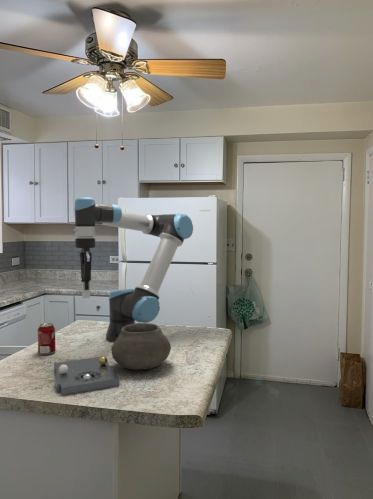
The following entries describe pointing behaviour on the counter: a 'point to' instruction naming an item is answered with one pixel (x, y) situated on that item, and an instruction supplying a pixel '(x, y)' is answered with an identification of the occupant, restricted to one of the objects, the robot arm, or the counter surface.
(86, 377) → the steel ball
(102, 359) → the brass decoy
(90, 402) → the counter surface
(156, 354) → the clay pot
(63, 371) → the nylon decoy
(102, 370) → the grey flat block
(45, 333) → the soda can
